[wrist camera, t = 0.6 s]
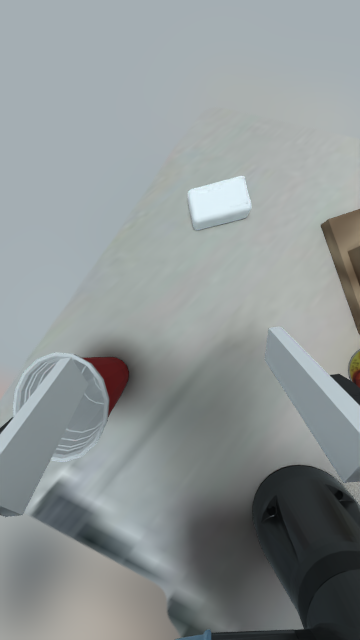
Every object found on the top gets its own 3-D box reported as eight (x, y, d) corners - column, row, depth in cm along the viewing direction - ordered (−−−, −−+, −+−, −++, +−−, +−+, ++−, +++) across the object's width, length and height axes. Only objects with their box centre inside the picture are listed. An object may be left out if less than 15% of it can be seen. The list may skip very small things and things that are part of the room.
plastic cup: (105, 328, 29) (45, 331, 17) (155, 367, 28) (129, 398, 17) (69, 379, 30) (-16, 416, 18) (117, 418, 29) (64, 486, 17)
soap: (193, 232, 29) (194, 222, 26) (187, 202, 29) (186, 187, 26) (247, 219, 28) (253, 207, 25) (240, 188, 29) (245, 172, 26)
